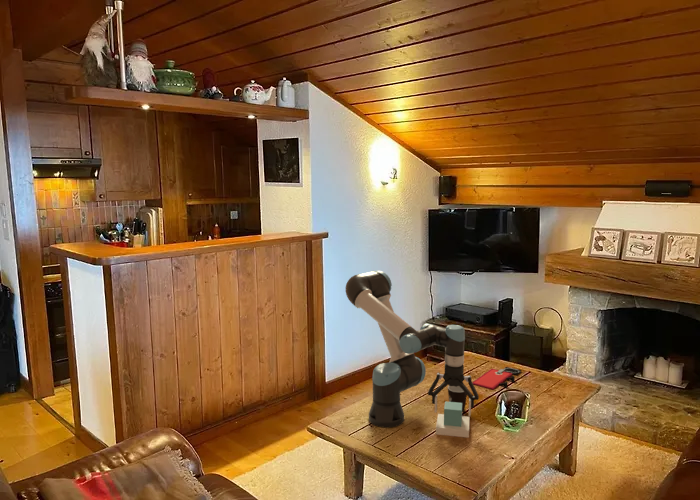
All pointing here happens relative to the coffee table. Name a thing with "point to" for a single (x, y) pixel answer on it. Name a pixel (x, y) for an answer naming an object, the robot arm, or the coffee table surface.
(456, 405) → the teal cube
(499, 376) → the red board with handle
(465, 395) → the coffee mug
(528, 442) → the coffee table surface
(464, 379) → the robot arm
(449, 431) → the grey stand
